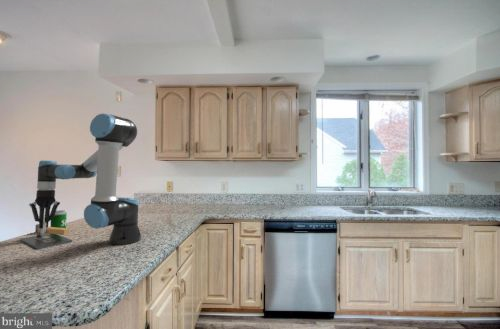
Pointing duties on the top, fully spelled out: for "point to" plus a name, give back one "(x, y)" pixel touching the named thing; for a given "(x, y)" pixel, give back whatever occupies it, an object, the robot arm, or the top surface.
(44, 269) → the top surface
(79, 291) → the top surface
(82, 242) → the top surface
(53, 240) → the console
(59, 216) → the soda can
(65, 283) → the top surface
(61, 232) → the bar
